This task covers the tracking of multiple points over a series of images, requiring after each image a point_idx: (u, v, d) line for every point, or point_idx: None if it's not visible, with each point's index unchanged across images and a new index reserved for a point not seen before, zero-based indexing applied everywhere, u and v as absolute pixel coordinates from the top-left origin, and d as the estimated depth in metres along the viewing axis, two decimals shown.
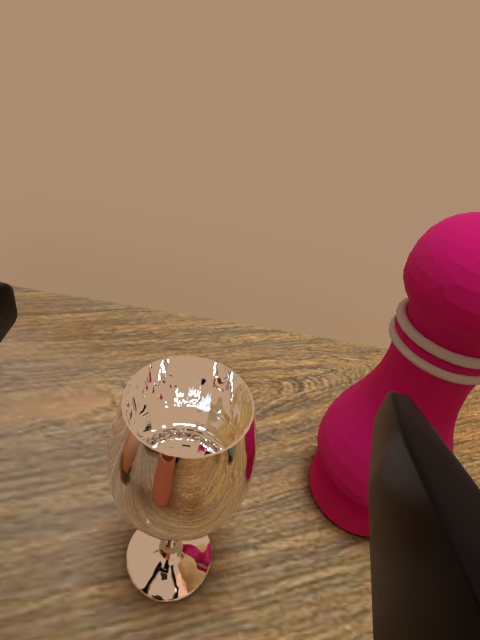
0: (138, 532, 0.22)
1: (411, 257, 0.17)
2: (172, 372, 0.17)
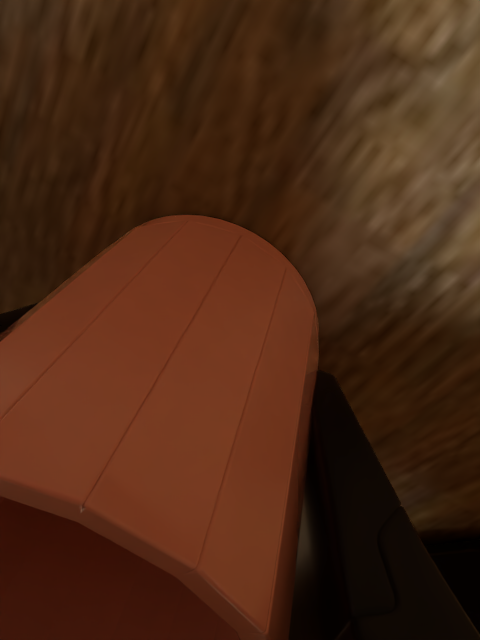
0: None
1: None
2: None
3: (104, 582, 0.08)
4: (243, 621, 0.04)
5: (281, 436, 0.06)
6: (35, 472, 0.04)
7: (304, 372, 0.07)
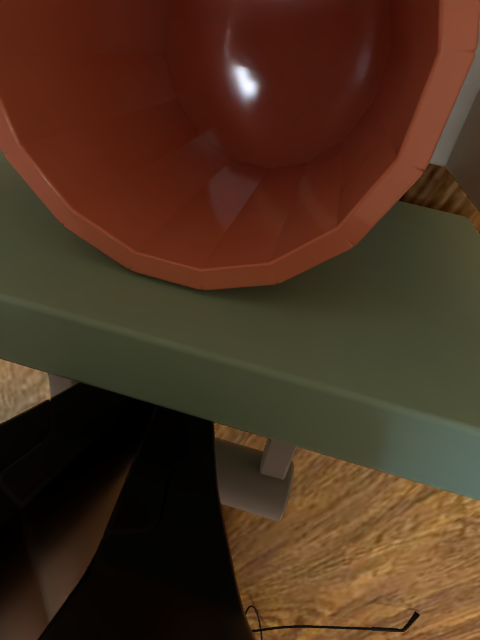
0: None
1: None
2: None
3: (195, 225, 0.07)
4: None
5: None
6: None
7: None
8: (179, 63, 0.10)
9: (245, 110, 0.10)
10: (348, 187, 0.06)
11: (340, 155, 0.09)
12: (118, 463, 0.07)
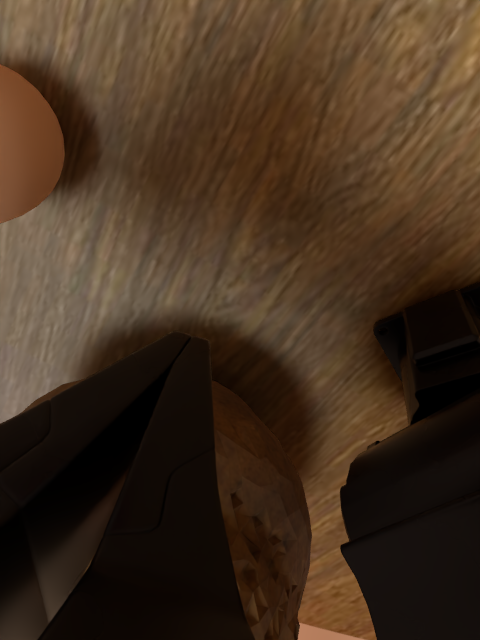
0: None
1: None
2: None
3: None
4: None
5: None
6: None
7: None
8: None
9: None
10: None
11: None
12: (118, 463, 0.07)
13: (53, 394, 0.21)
